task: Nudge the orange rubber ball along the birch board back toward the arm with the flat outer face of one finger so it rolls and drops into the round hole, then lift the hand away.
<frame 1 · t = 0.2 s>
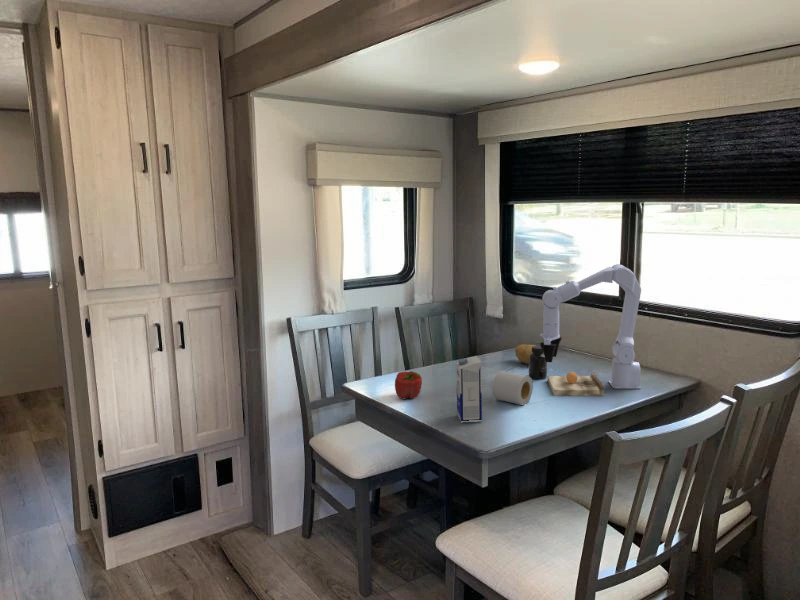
hand: (551, 359, 218), 10 cm above the table, tool pointing down, fingers open, 7 cm apart
supplement bottle: (537, 377, 228), on the table
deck: (574, 388, 214), on the table
vegetable: (409, 397, 211), on the table
milk carton: (469, 419, 189), on the table
potato: (529, 364, 246), on the table
toilet paper: (512, 402, 203), on the table
ball: (571, 377, 214), point 4 cm above the table, touching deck
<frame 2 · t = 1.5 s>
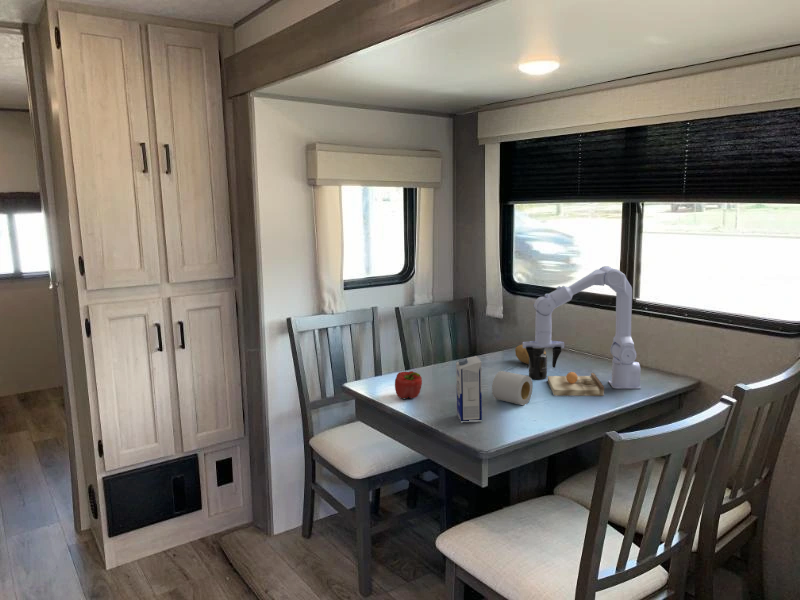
hand: (542, 366, 214), 8 cm above the table, tool pointing down, fingers open, 7 cm apart
nothing on the table moved.
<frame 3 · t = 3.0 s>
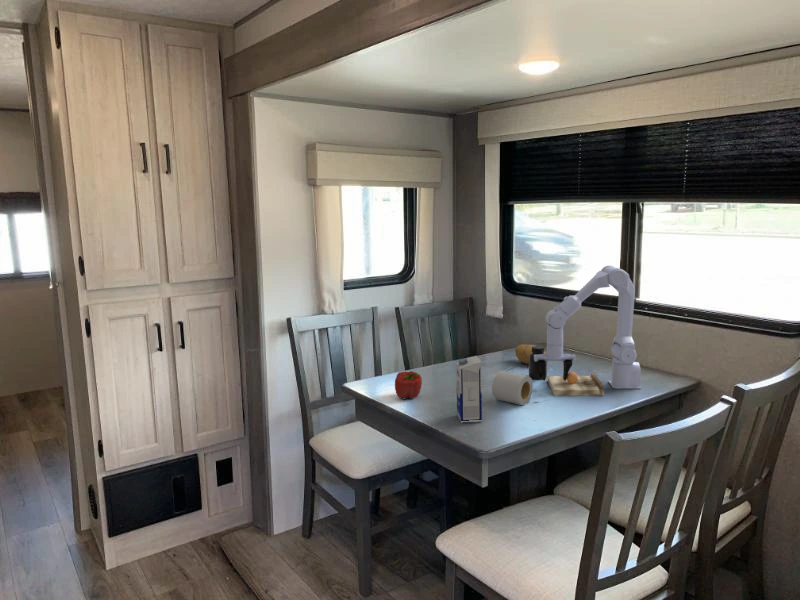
hand: (554, 379, 215), 3 cm above the table, tool pointing down, fingers open, 7 cm apart
ball: (572, 377, 214), point 4 cm above the table, touching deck, gripper
everything else where it was.
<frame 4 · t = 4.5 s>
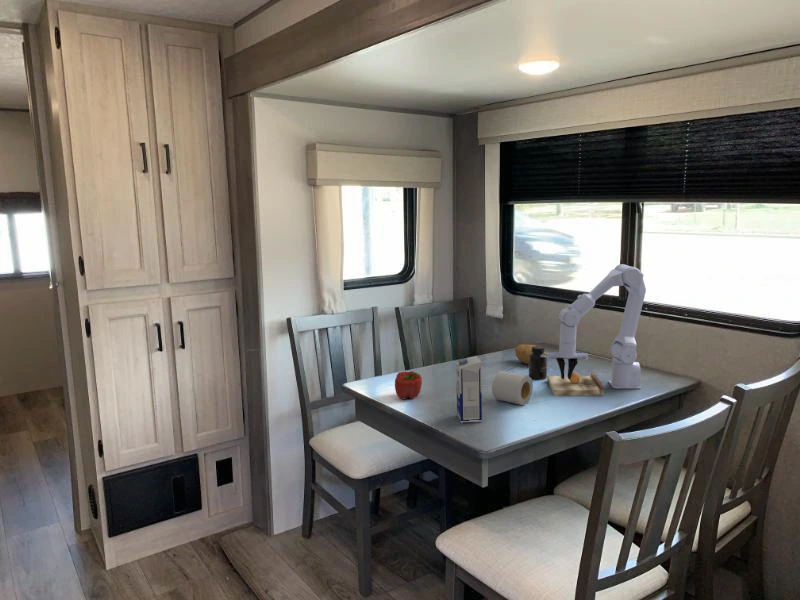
hand: (565, 378, 214), 4 cm above the table, tool pointing down, fingers closed
ball: (574, 377, 214), point 4 cm above the table, tilted 25°, touching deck, gripper
everything else where it was.
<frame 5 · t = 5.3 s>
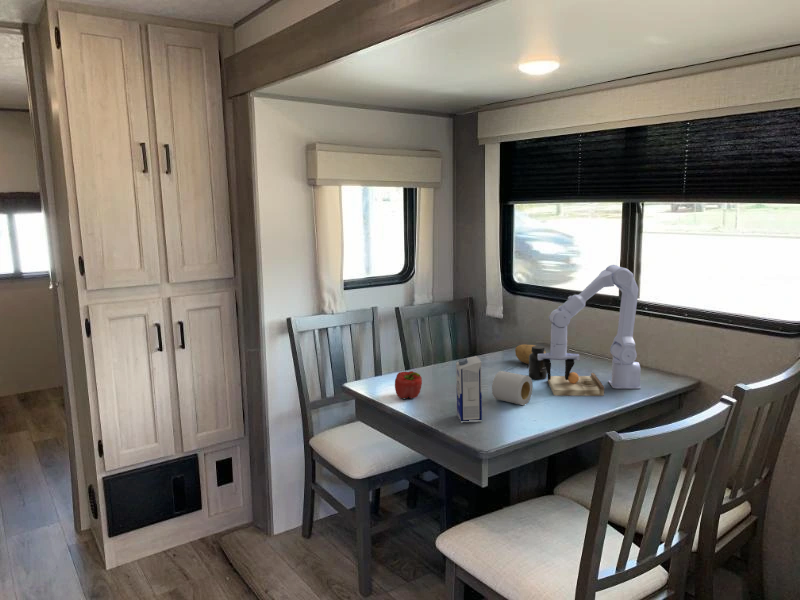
hand: (557, 379, 214), 3 cm above the table, tool pointing down, fingers open, 5 cm apart
ball: (573, 377, 214), point 4 cm above the table, tilted 12°, touching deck, gripper
everything else where it was.
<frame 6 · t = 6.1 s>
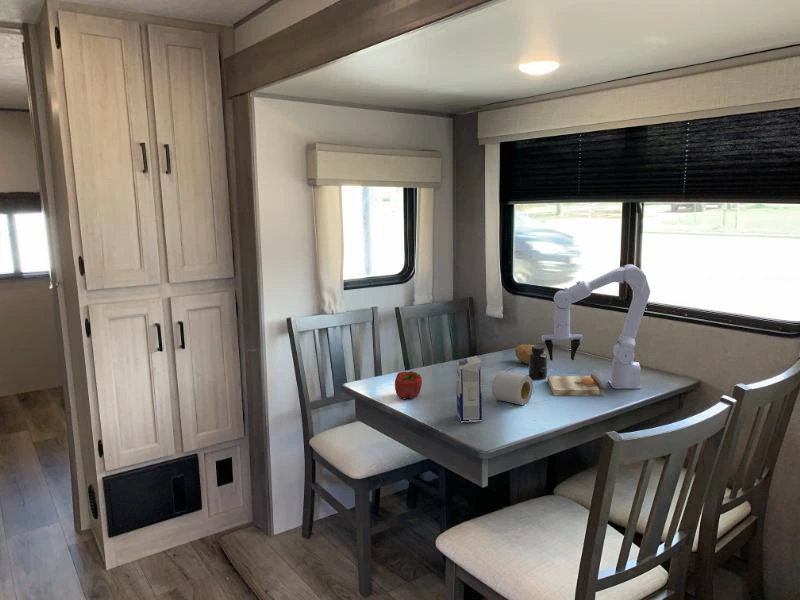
hand: (561, 359, 218), 9 cm above the table, tool pointing down, fingers open, 7 cm apart
ball: (588, 382, 214), point 2 cm above the table, tilted 162°
everything else where it was.
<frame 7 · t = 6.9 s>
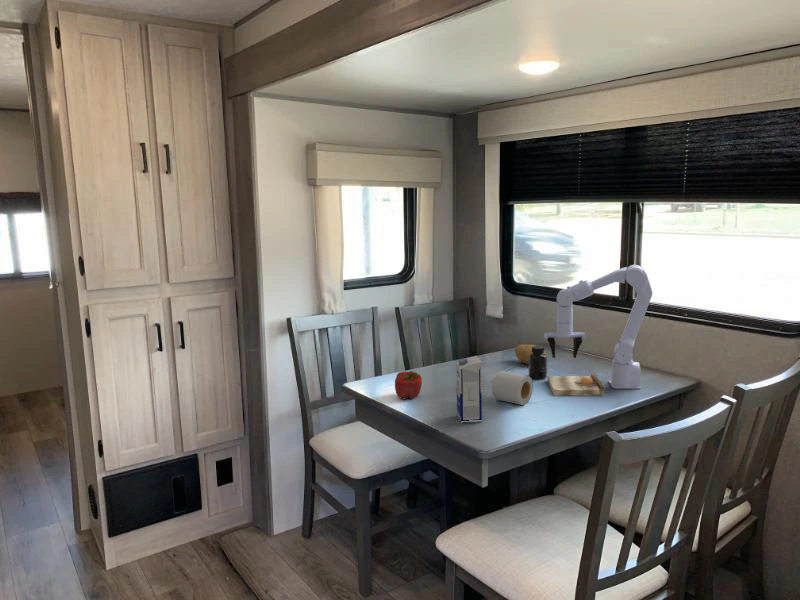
hand: (564, 357, 221), 9 cm above the table, tool pointing down, fingers open, 7 cm apart
ball: (586, 382, 214), point 2 cm above the table, tilted 176°
everything else where it was.
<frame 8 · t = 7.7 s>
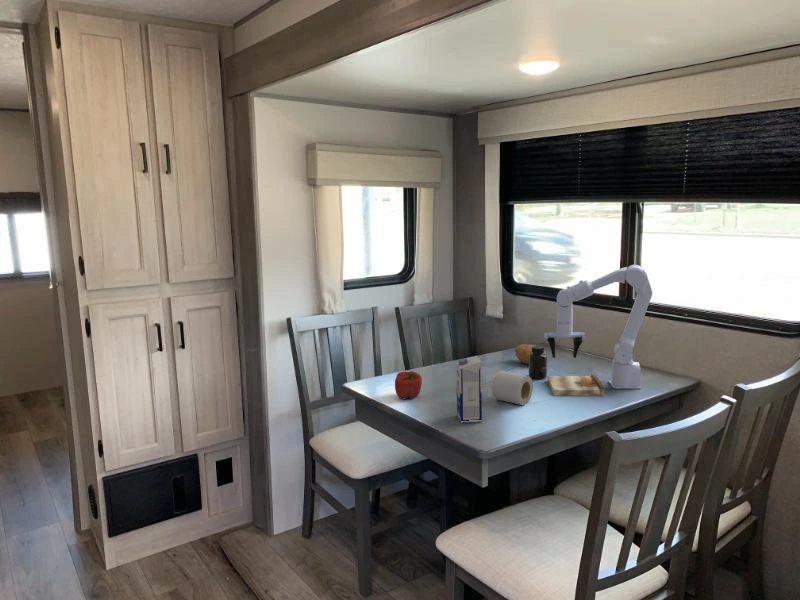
hand: (564, 357, 221), 9 cm above the table, tool pointing down, fingers open, 7 cm apart
nothing on the table moved.
at the end: ball 0.5 cm from the target spot in the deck, point 2.0 cm above the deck's base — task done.
